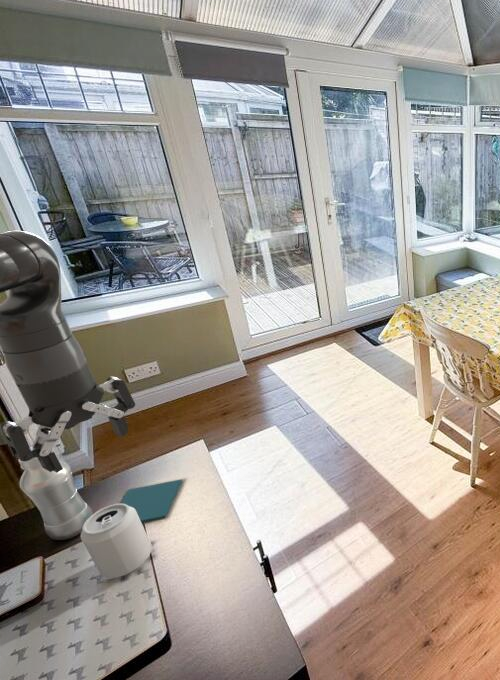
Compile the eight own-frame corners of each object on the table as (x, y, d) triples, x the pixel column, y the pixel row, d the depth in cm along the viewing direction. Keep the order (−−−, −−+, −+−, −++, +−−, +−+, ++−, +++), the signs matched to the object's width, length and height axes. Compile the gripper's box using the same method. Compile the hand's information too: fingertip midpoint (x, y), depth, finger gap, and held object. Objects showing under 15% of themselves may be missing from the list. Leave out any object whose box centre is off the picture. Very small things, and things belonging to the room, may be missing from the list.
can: (150, 535, 83) (131, 492, 78) (156, 562, 78) (135, 518, 73) (100, 560, 78) (76, 516, 73) (102, 590, 73) (77, 545, 68)
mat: (106, 530, 84) (105, 528, 83) (129, 491, 92) (128, 489, 92) (165, 517, 87) (164, 515, 87) (182, 481, 95) (181, 479, 95)
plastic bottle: (60, 522, 85) (18, 447, 77) (103, 511, 87) (66, 438, 79) (43, 550, 80) (-4, 472, 72) (89, 538, 82) (47, 462, 74)
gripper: (95, 341, 68) (127, 418, 75) (-34, 387, 56) (18, 475, 63) (122, 351, 66) (153, 430, 72) (-6, 401, 54) (45, 491, 60)
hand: (90, 451), depth 68 cm, fingers open, 8 cm apart
